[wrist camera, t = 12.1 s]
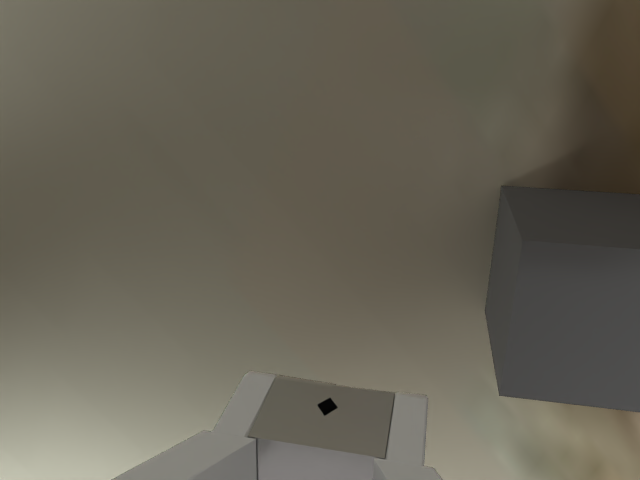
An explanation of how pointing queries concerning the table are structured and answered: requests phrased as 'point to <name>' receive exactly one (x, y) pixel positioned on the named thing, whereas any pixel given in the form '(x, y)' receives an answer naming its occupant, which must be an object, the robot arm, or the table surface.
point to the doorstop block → (566, 297)
